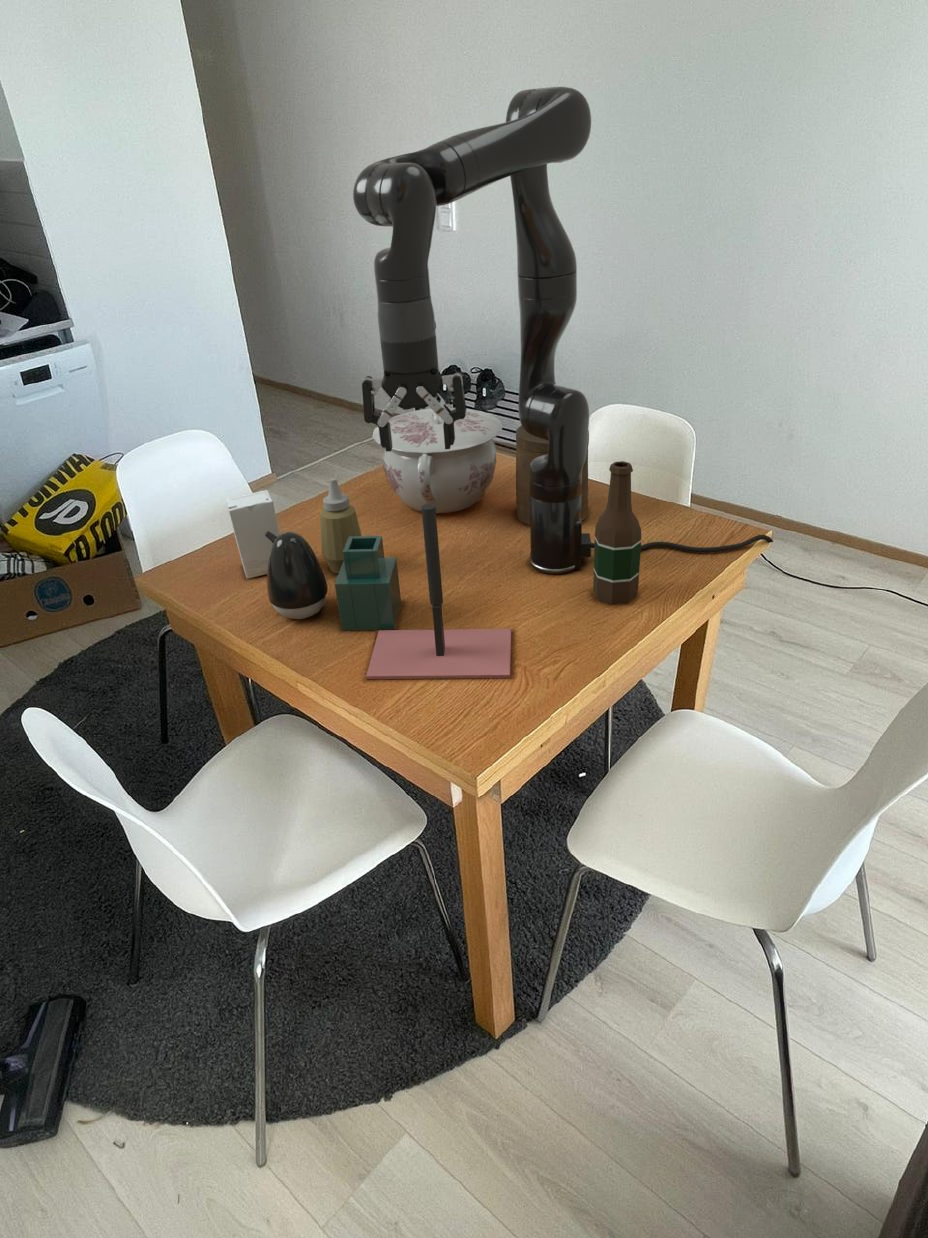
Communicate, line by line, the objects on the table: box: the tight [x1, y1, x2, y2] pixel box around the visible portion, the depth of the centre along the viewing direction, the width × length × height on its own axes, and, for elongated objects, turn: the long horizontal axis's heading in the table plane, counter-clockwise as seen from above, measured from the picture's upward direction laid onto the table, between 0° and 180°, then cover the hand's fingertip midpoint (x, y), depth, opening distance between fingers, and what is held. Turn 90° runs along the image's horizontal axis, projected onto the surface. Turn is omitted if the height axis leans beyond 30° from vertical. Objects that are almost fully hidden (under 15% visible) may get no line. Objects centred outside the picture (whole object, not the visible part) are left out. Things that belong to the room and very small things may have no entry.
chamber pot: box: [372, 407, 503, 514], centre depth 177 cm, size 28×28×21 cm
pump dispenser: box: [265, 531, 329, 620], centre depth 141 cm, size 10×10×15 cm
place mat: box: [365, 628, 512, 680], centre depth 131 cm, size 22×13×1 cm, turn 86°
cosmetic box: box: [225, 489, 281, 580], centre depth 156 cm, size 8×6×15 cm
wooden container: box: [515, 424, 590, 526], centre depth 168 cm, size 15×15×22 cm
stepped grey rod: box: [421, 504, 445, 656], centre depth 124 cm, size 2×3×25 cm
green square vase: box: [334, 535, 402, 631], centre depth 139 cm, size 9×9×14 cm
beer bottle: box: [592, 460, 642, 606], centre depth 138 cm, size 8×8×24 cm
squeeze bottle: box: [319, 477, 363, 574], centre depth 153 cm, size 8×8×18 cm
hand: (418, 448), depth 119 cm, fingers open, 8 cm apart
